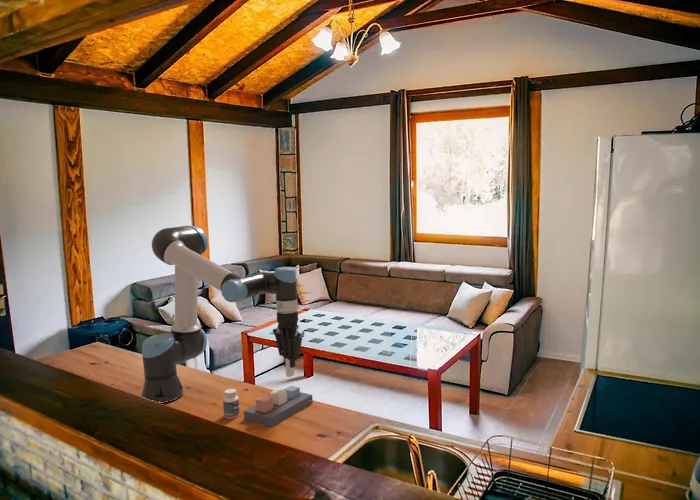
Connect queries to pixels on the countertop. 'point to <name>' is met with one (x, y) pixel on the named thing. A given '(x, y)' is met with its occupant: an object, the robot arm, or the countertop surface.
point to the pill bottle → (231, 404)
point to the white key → (279, 396)
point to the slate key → (292, 392)
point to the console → (278, 410)
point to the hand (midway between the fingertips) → (290, 375)
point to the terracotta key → (264, 404)
